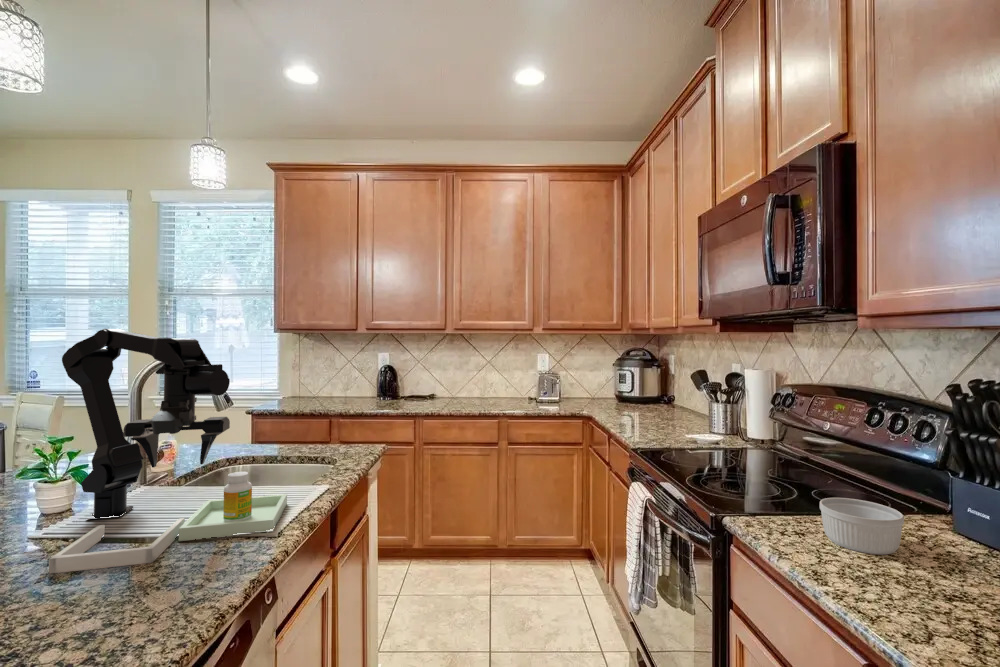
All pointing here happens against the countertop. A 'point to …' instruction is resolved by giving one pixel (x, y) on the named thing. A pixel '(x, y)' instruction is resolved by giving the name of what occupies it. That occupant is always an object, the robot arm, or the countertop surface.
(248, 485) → the supplement bottle
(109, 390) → the robot arm
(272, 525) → the tray
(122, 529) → the countertop surface
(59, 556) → the bay
